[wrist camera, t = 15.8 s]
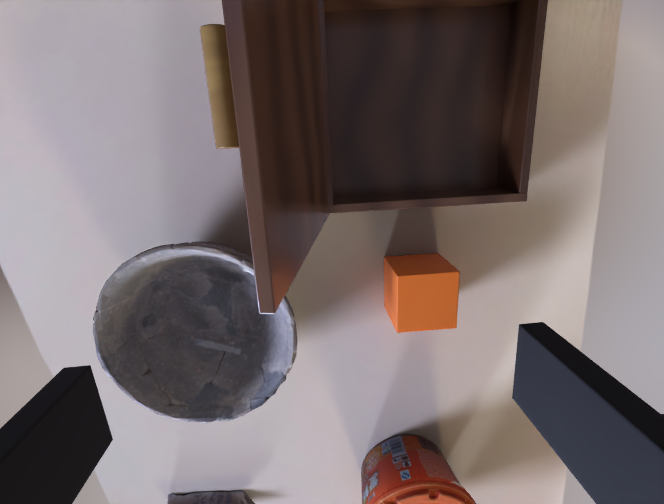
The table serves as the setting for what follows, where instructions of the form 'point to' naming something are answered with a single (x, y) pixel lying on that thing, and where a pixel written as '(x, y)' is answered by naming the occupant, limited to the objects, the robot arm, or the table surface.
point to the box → (429, 100)
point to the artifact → (211, 498)
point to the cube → (421, 292)
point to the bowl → (192, 333)
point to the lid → (272, 128)
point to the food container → (409, 474)
